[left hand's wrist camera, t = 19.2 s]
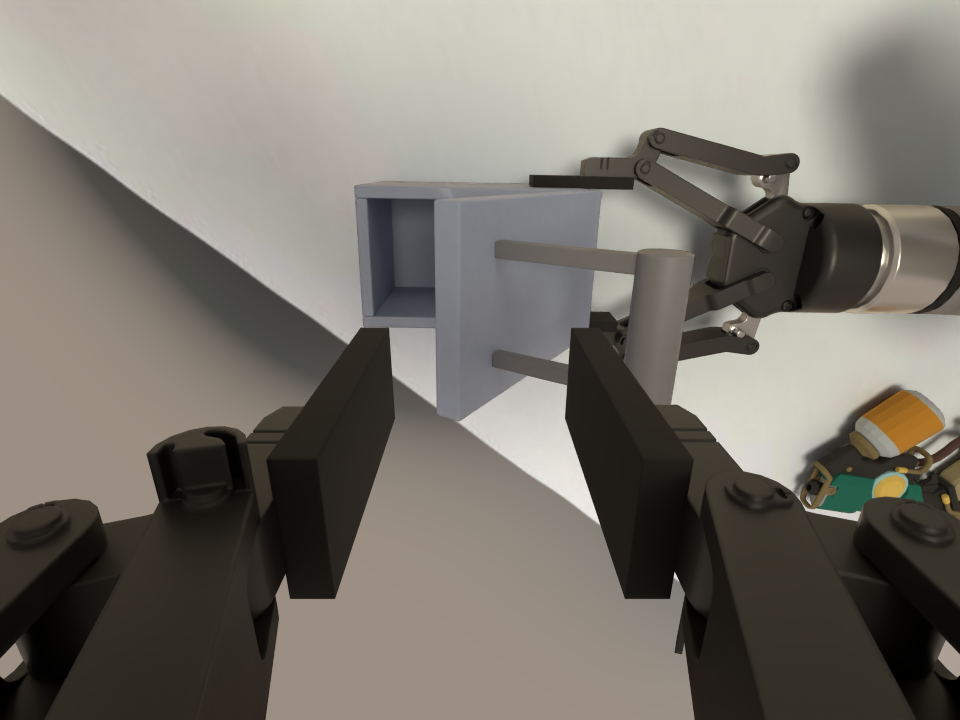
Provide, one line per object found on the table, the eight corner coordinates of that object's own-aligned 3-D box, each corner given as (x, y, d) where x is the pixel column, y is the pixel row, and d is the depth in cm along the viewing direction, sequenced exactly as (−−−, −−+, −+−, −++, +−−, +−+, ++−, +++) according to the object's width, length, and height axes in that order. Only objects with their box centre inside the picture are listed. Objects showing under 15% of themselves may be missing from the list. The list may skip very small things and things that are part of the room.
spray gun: (1015, 428, 48) (898, 539, 54) (888, 356, 45) (775, 483, 50) (1063, 454, 45) (932, 571, 50) (928, 378, 41) (802, 513, 46)
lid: (436, 415, 22) (642, 480, 18) (432, 199, 19) (682, 213, 15) (571, 331, 34) (716, 359, 30) (582, 189, 31) (746, 196, 27)
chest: (388, 293, 44) (363, 327, 34) (382, 181, 40) (353, 185, 31) (557, 296, 44) (578, 330, 34) (565, 184, 41) (590, 189, 31)
